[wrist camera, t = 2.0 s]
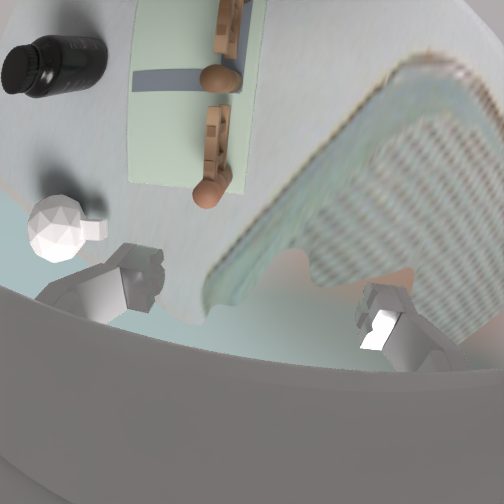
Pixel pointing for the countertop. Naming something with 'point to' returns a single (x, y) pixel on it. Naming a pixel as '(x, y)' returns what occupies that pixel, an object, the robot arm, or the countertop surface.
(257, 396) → the robot arm
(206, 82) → the fence fixed
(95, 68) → the supplement bottle
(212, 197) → the fence gate
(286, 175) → the countertop surface
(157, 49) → the mat
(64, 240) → the perfume bottle
